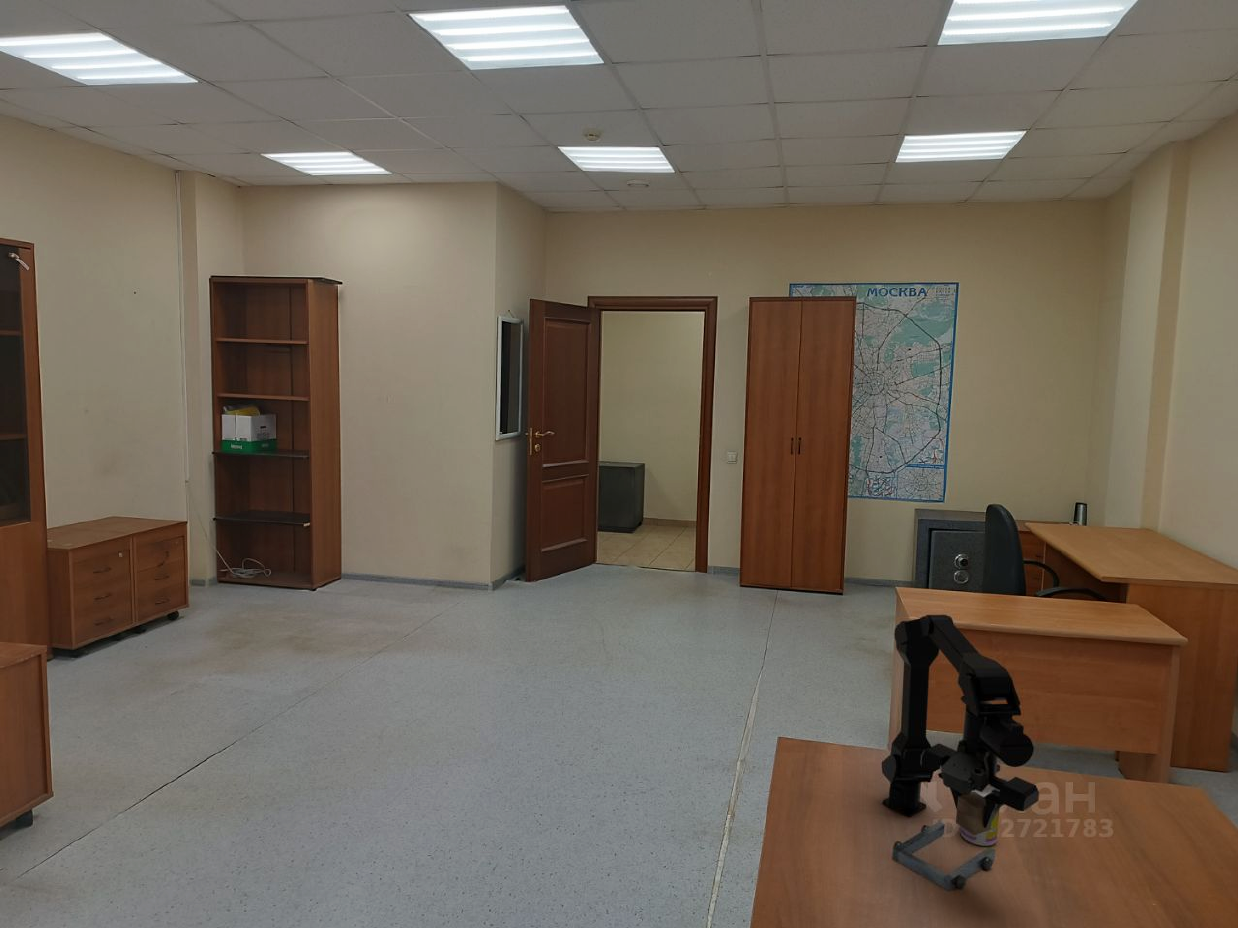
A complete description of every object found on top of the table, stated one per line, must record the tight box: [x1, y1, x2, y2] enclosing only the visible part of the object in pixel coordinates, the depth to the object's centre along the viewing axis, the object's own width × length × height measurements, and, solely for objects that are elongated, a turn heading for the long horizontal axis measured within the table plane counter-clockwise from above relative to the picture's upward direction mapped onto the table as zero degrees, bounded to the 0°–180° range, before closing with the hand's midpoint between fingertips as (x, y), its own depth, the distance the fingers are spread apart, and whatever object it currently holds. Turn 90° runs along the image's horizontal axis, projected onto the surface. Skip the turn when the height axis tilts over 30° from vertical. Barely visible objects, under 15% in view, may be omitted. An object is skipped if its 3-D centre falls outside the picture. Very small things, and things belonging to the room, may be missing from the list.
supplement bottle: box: [959, 786, 1000, 847], centre depth 160 cm, size 7×7×13 cm
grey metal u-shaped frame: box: [891, 821, 996, 892], centre depth 154 cm, size 15×13×2 cm
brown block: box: [955, 792, 991, 835], centre depth 145 cm, size 4×4×5 cm
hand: (973, 820), depth 145 cm, fingers closed on brown block, 4 cm apart
